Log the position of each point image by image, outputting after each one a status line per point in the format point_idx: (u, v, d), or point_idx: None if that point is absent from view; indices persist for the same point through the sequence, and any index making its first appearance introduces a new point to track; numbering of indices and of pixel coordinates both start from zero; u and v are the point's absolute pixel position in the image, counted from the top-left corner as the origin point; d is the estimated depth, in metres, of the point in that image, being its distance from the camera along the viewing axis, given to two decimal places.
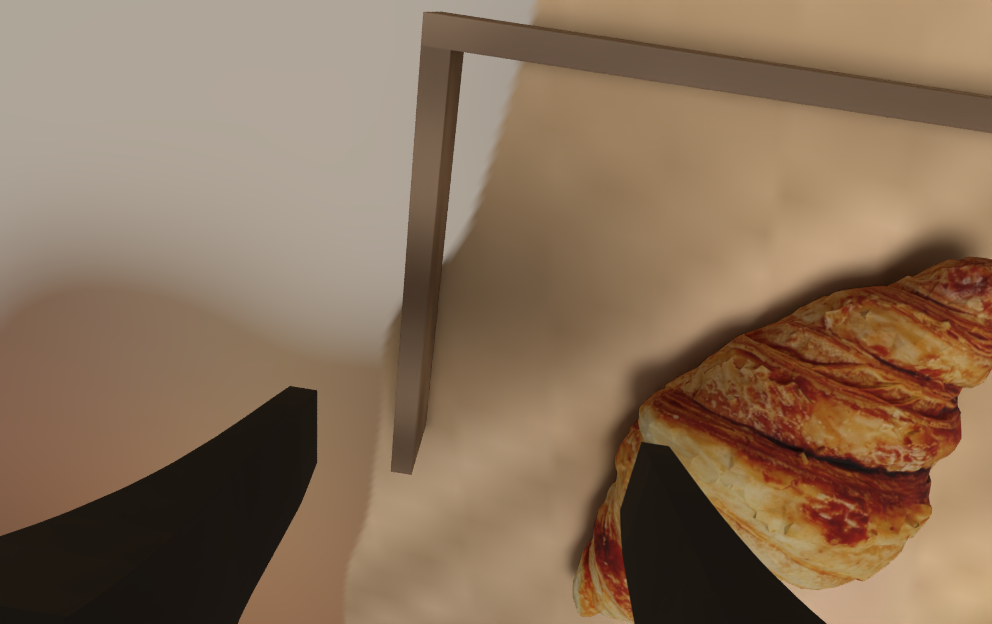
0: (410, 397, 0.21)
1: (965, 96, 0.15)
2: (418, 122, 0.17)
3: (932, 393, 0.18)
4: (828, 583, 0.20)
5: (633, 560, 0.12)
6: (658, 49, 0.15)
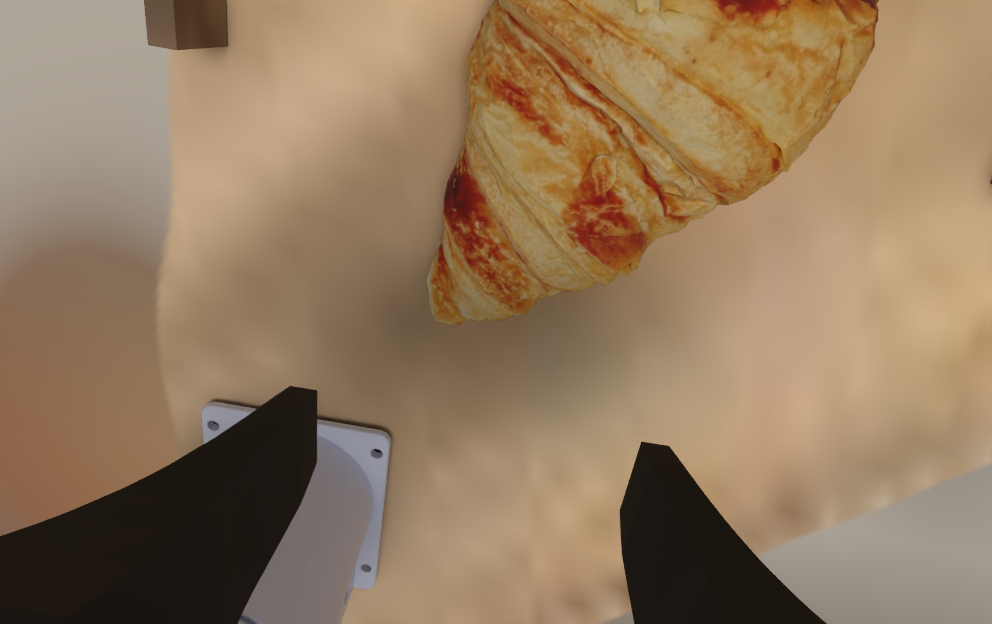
0: None
1: None
2: None
3: None
4: (730, 134, 0.14)
5: (633, 560, 0.12)
6: None
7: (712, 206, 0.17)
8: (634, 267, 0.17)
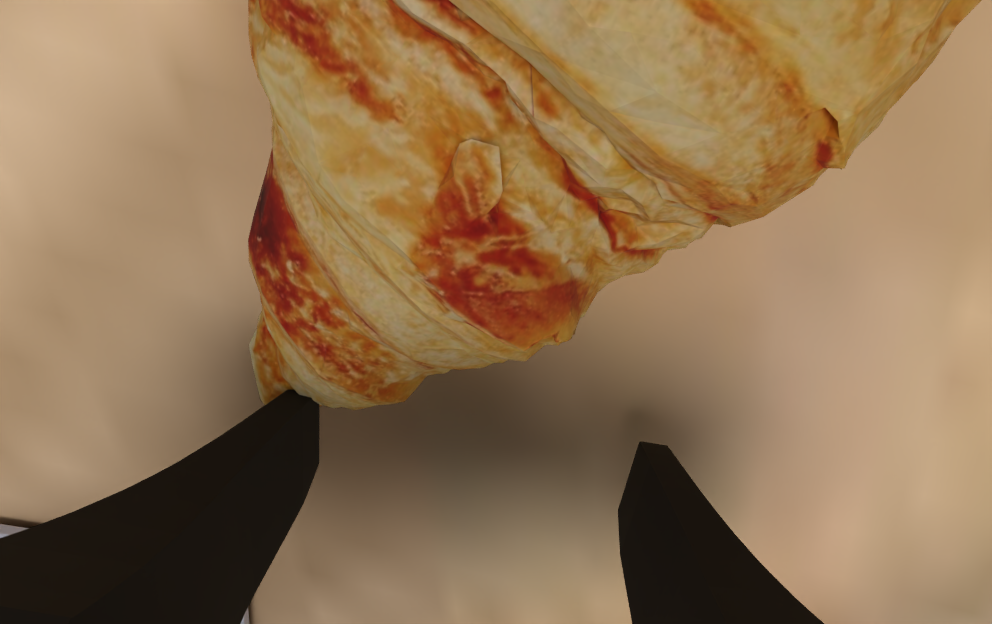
0: None
1: None
2: None
3: None
4: (730, 90, 0.06)
5: (631, 560, 0.12)
6: None
7: (700, 233, 0.09)
8: (564, 339, 0.10)
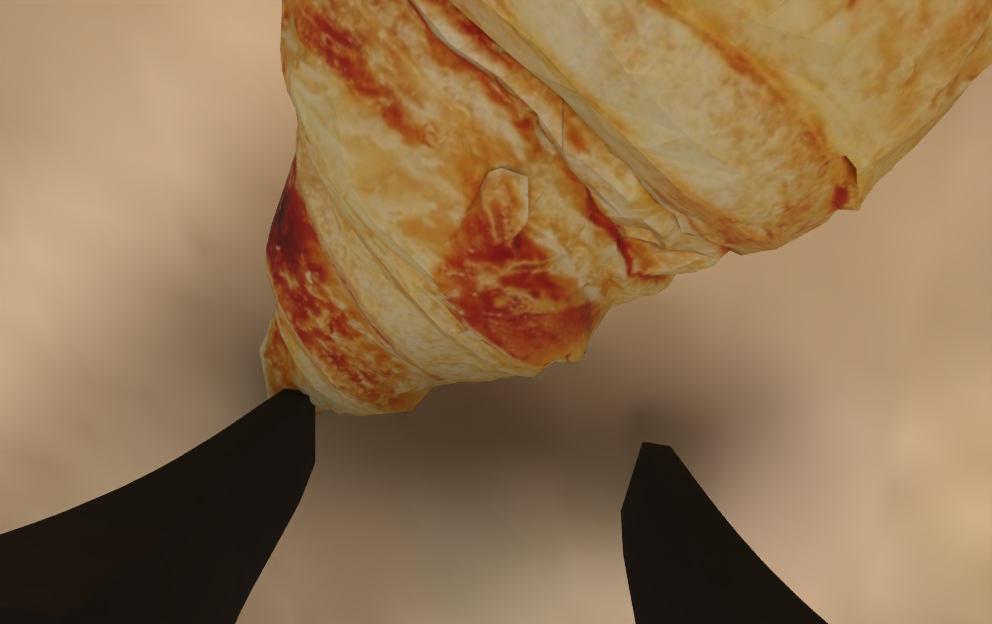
0: None
1: None
2: None
3: None
4: (758, 136, 0.07)
5: (634, 560, 0.12)
6: None
7: (713, 262, 0.10)
8: (575, 359, 0.10)
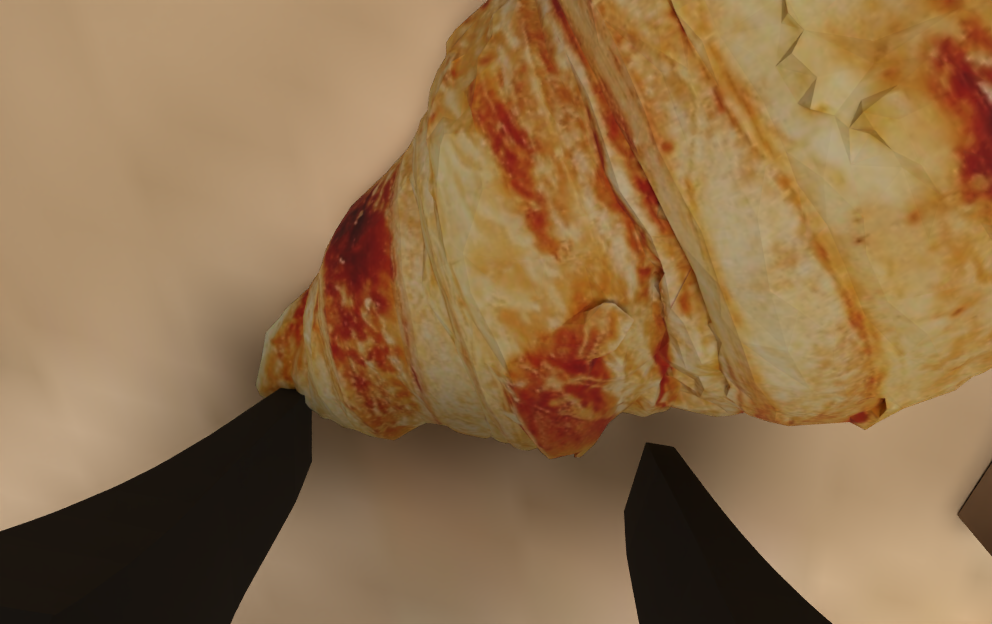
0: None
1: None
2: None
3: None
4: (838, 370, 0.08)
5: (638, 561, 0.12)
6: None
7: (725, 415, 0.11)
8: (580, 455, 0.11)
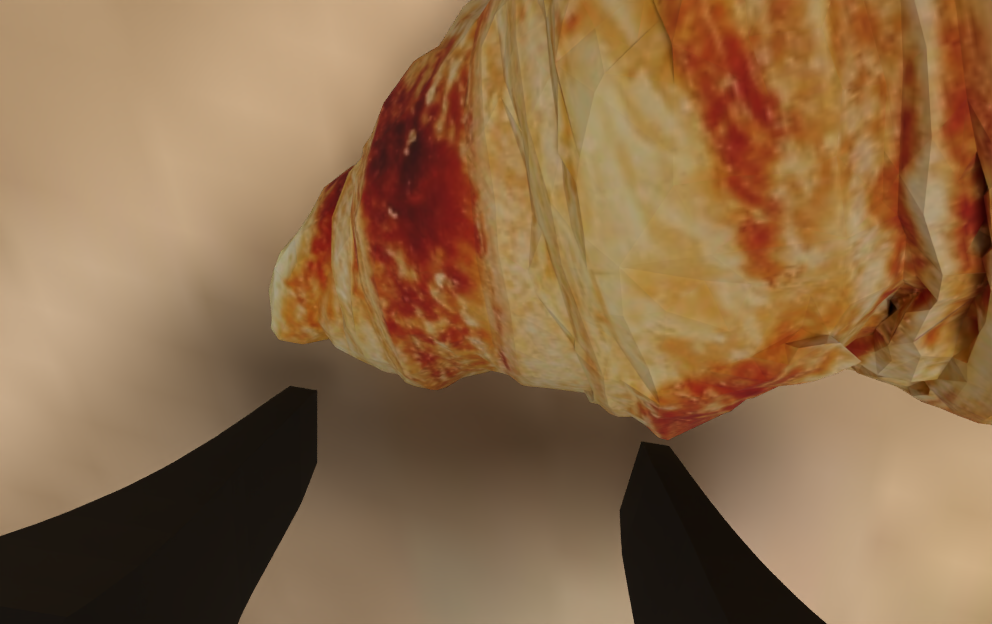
0: None
1: None
2: None
3: None
4: None
5: (633, 560, 0.12)
6: None
7: None
8: None
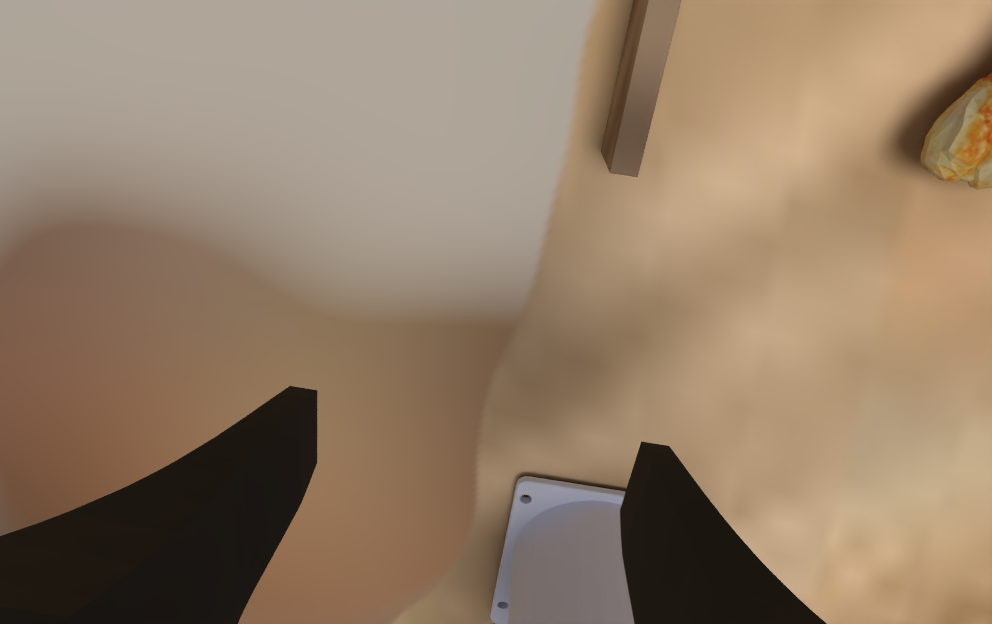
0: (659, 39, 0.15)
1: None
2: None
3: None
4: None
5: (633, 560, 0.12)
6: None
7: None
8: None
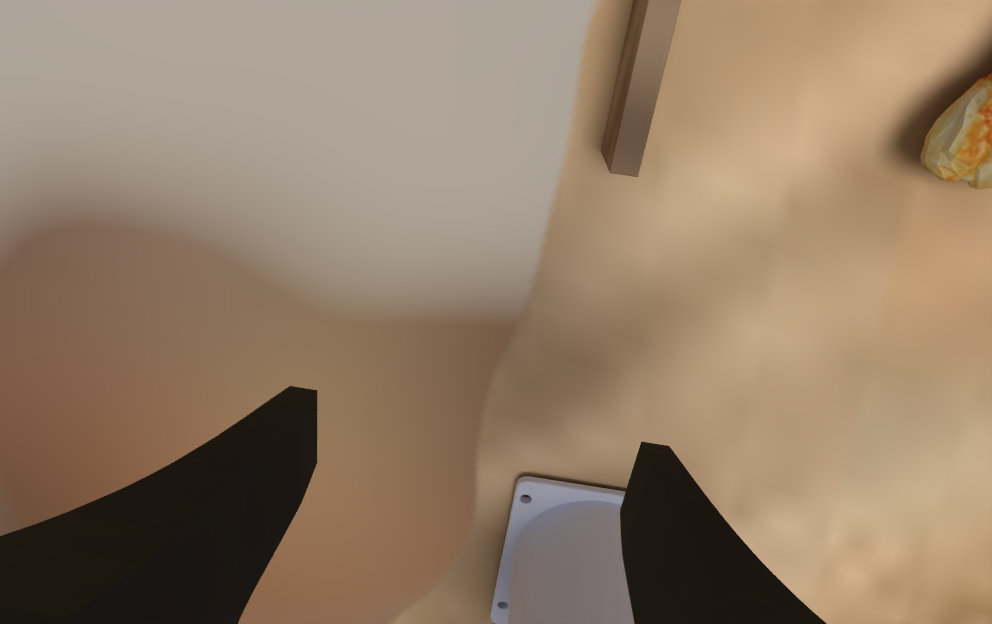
0: (659, 39, 0.15)
1: None
2: None
3: None
4: None
5: (633, 560, 0.12)
6: None
7: None
8: None
